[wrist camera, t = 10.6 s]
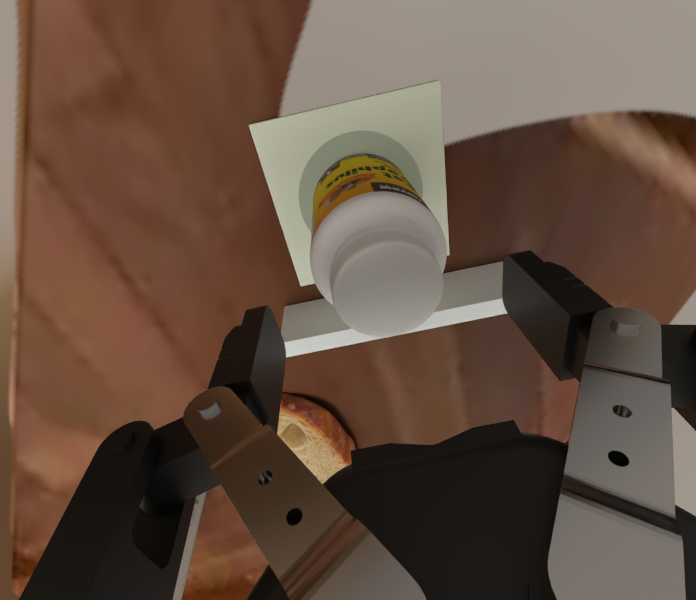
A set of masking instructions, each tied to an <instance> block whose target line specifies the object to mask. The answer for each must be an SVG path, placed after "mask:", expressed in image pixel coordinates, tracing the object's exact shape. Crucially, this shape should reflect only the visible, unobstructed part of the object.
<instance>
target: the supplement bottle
mask: <svg viewBox="0 0 696 600" xmlns="http://www.w3.org/2000/svg"><path fill="white" fill-rule="evenodd" d="M446 257H447V246H446V240H445V236H444V233H443V230H442V228H441V226H440V224H439V223H438V221H437V219H436V218H435V216H434V215H433V213H432V212H431V210H430V209H429V208H428V206H427V205H426V204H425V202H424V201H423V200H422V198H421V197H420V196H419V194H418V193H417V192H416V190H415V189H414V188H413V186H412V185H411V183H410V182H409V181H408V179H407V178H406V177H405V175H404V174H403V173H402V171H401V170H400V169H399V168H398V167H397V166H396V165H395V164H394V163H393V162H391V161H390V160H388V159H386V158H384V157H382V156H379V155H376V154H370V153H357V154H352V155H348V156H346V157H343V158H341V159H339V160H338V161H336V162H335V163H333V164H332V165H331V166H330V167H329V168H328V169H327V170H326V171H325V172H324V173H323V175H322V176H321V178H320V179H319V181H318V184H317V186H316V189H315V193H314V198H313V214H312V231H311V246H310V266H311V272H312V276H313V279H314V281H315V284H316V286H317V288H318V290H319V291H320V292H321V294H322V295H323V296H324V297H325V299H326V300H327V301H328V302H329V303H331V304H332V305H333V306H334V308H335V310H336V312H337V314H338V315H339V317H340V318H341V319H342V321H343V322H344V323H345V324H347V325H348V326H349V327H350V328H352V329H354V330H355V331H358V332H360V333H363V334H366V335H370V336H376V337H389V336H396V335H400V334H404V333H406V332H408V331H411V330H413V329H415V328H416V327H418V326H420V325H421V324H422V323H424V322H425V321H426V320H427V319H428V318H429V317H430V316H431V315H432V314H433V313H434V311H435V310H436V308H437V307H438V305H439V303H440V300H441V297H442V294H443V286H444V280H443V275H442V274H443V271H444V268H445V264H446Z"/></svg>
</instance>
